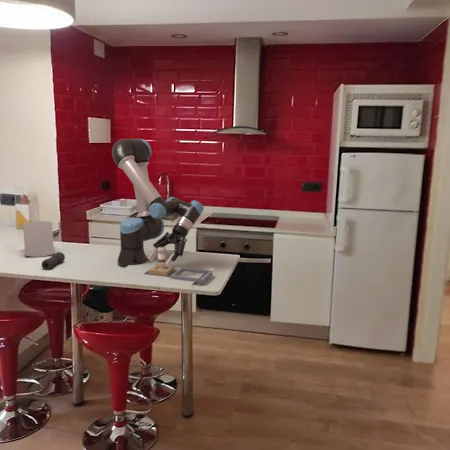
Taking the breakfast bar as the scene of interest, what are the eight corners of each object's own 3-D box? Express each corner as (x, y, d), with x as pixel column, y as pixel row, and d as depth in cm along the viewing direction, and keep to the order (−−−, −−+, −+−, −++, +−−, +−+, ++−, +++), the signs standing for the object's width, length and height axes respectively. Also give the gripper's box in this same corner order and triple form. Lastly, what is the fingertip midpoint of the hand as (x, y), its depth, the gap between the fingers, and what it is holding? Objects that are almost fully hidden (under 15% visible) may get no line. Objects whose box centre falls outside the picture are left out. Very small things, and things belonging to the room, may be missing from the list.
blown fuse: (156, 272, 226) (156, 248, 224) (159, 270, 230) (159, 246, 227) (163, 273, 225) (163, 249, 223) (167, 271, 229) (167, 247, 226)
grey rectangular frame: (170, 281, 218) (170, 275, 217) (181, 273, 231) (181, 267, 231) (203, 285, 214) (203, 279, 213) (212, 276, 227) (212, 270, 226)
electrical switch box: (53, 253, 270) (51, 218, 268) (54, 256, 256) (52, 219, 254) (26, 255, 264) (24, 220, 263) (25, 258, 251) (22, 221, 249)
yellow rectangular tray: (143, 276, 224) (143, 269, 223) (153, 269, 235) (153, 263, 235) (170, 280, 220) (170, 273, 219) (179, 272, 231) (179, 266, 231)
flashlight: (51, 270, 231) (50, 260, 230) (40, 270, 232) (40, 259, 230) (65, 262, 246) (64, 252, 245) (55, 261, 246) (54, 251, 245)
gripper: (203, 236, 226) (179, 272, 219) (170, 228, 243) (147, 261, 236) (195, 227, 221) (170, 264, 214) (162, 219, 238) (138, 253, 231)
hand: (158, 262), depth 225 cm, fingers open, 13 cm apart
